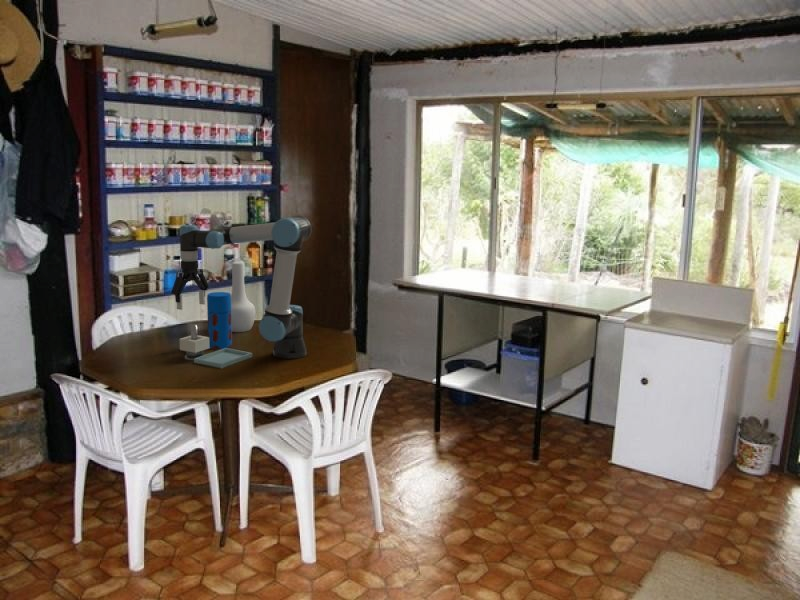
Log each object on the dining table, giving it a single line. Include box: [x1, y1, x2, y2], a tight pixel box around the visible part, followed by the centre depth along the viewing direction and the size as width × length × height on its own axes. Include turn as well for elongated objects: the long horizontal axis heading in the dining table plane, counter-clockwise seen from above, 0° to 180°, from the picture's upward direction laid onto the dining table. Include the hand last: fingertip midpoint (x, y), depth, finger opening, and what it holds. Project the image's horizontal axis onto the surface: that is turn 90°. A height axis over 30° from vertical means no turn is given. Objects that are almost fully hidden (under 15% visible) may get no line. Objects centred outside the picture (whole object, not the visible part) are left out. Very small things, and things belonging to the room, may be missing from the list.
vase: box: [230, 261, 256, 333], centre depth 364 cm, size 17×17×35 cm
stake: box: [184, 323, 205, 362], centre depth 315 cm, size 9×9×15 cm
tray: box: [193, 347, 253, 369], centre depth 314 cm, size 15×20×2 cm
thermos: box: [206, 291, 233, 350], centre depth 334 cm, size 11×11×25 cm
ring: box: [179, 335, 211, 353], centre depth 316 cm, size 11×9×5 cm
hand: (191, 306), depth 320 cm, fingers open, 13 cm apart
